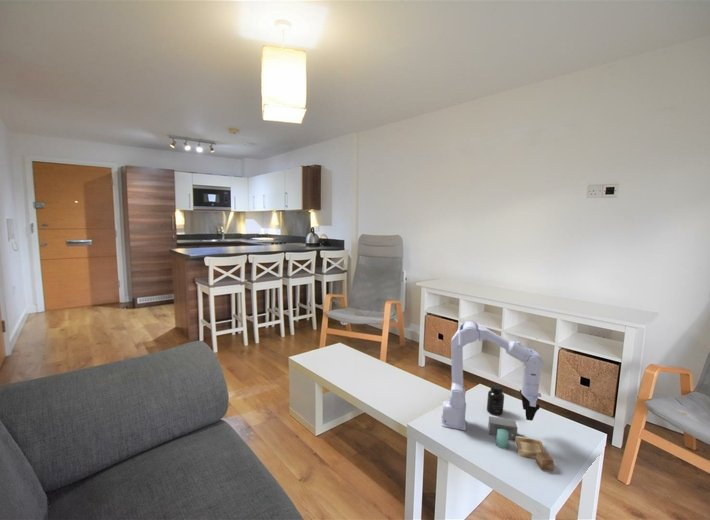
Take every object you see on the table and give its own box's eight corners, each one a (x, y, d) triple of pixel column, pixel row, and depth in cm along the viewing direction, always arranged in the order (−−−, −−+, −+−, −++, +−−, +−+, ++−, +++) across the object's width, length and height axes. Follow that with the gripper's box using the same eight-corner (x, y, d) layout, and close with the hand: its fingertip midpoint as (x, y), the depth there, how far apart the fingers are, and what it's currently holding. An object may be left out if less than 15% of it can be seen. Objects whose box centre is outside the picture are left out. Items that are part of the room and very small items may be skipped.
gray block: (489, 434, 142) (490, 423, 142) (488, 427, 147) (489, 416, 146) (517, 439, 140) (518, 427, 139) (514, 431, 144) (515, 420, 144)
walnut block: (541, 470, 123) (542, 460, 123) (535, 462, 127) (536, 452, 127) (552, 470, 123) (553, 460, 123) (546, 462, 127) (547, 452, 127)
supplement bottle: (485, 406, 163) (487, 382, 161) (500, 408, 162) (502, 383, 160) (488, 415, 156) (490, 389, 155) (504, 416, 155) (507, 391, 154)
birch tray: (519, 455, 130) (519, 450, 130) (515, 440, 139) (515, 435, 139) (546, 460, 128) (546, 455, 128) (540, 445, 137) (540, 440, 136)
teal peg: (496, 447, 135) (497, 433, 134) (495, 440, 139) (496, 427, 138) (508, 449, 134) (509, 435, 133) (506, 442, 137) (507, 429, 137)
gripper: (546, 392, 130) (542, 426, 132) (538, 375, 144) (535, 406, 145) (525, 389, 132) (522, 423, 134) (519, 372, 146) (516, 403, 147)
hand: (527, 414), depth 140 cm, fingers open, 7 cm apart
